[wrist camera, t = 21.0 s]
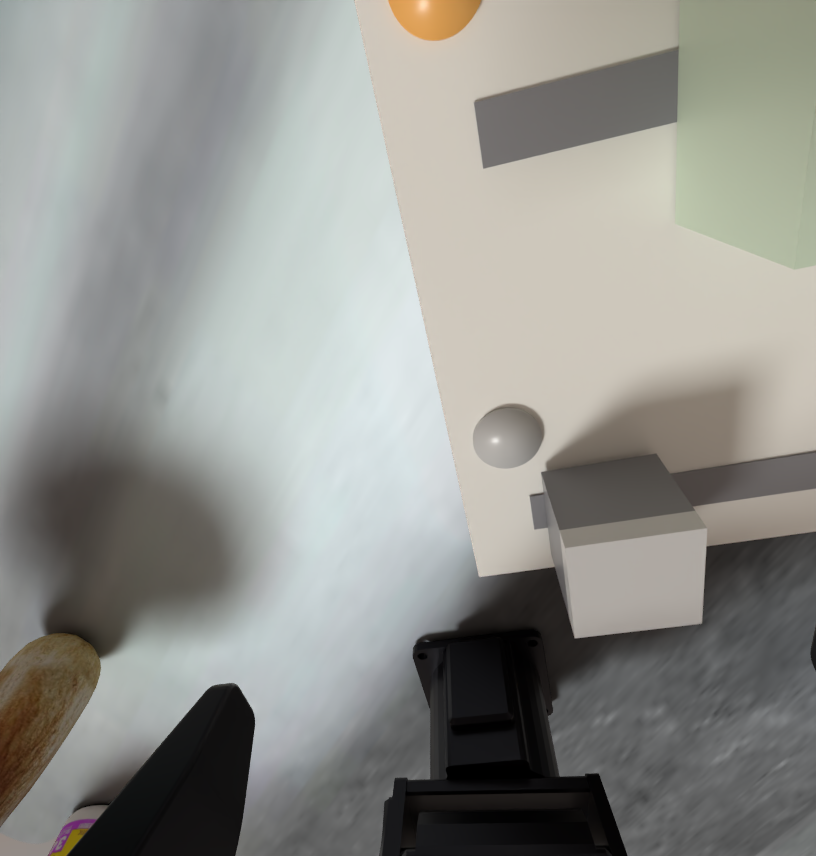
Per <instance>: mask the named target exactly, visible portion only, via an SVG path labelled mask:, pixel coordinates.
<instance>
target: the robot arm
mask: <svg viewBox="0 0 816 856" xmlns="http://www.w3.org/2000/svg"><path fill="white" fill-rule="evenodd" d="M413 659H414V662H415V665H416V668H417V671H418V674H419V677H420V680H421V684H422V687H423V690H424V693H425V696H426V699H427V702H428V705H429V708H430V780H408V779H407V778H395V781H394V789H393V797H389V799H388V800H386V801H385V803H384V818H383V831H382V841H381V848H380V853H379V856H627V853H626V850H625V847H624V844H623V842H622V839H621V836H620V833H619V830H618V827H617V824H616V821H615V819H614V816H613V813H612V810H611V807H610V804H609V801H608V799H607V796H606V793H605V790H604V787H603V784H602V781H601V779H600V776H599V774H598V773H595V774H585V776H572V777H560V776H559V771H558V766H557V761H556V756H555V751H554V746H553V741H552V736H551V731H550V726H549V721H548V716H549V715H551V714H552V713H553V707H552V700H551V694H550V687H549V681H548V674H547V667H546V661H545V654H544V648H543V641H542V637H541V634H540V633H539V632H538V631H536V630H525V631H517V632H508V633H500V634H492V635H483V636H475V637H467V638H458V639H450V640H442V641H434V642H425V643H419V644H416V645H415V646H414V647H413ZM811 660H812V663H813V666H814V668H815V670H816V626H815V631H814V636H813V641H812V646H811ZM254 729H255V717H254V713H253V710H252V708H251V707H250V705H249V703H248V701H247V700H246V698H245V696H244V695H243V693H242V691H241V690H240V688H239V687H238V685H236V684H234V683H228V684H219V685H214V686H212V687H210V688H209V689H208V690H207V691H206V692H205V693H204V694H203V695H202V697H201V698H200V699H199V700H198V701H197V702H196V704H195V705H194V706H193V707H192V708H191V709H190V711H189V712H188V713H187V714H186V715H185V716H184V718H183V719H182V720H181V721H180V722H179V724H178V725H177V726H176V727H175V728H174V729H173V731H172V732H171V733H170V734H169V735H168V736H167V738H166V739H165V740H164V741H163V742H162V744H161V745H160V746H159V747H158V748H157V749H156V751H155V752H154V753H153V754H152V755H151V756H150V758H149V759H148V760H147V761H146V762H145V764H144V765H143V766H142V767H141V768H140V769H139V771H138V772H137V773H136V774H135V775H134V776H133V778H132V779H131V780H130V781H129V782H128V783H127V785H126V786H125V787H124V788H123V789H122V791H121V792H120V793H119V794H118V795H117V796H116V798H115V799H114V800H113V801H112V802H111V803H110V805H109V806H108V807H107V808H106V809H105V811H104V812H103V813H102V814H101V815H100V816H99V818H98V819H97V820H96V821H95V822H94V823H93V825H92V826H91V827H90V828H89V829H88V831H87V832H86V833H85V834H84V835H83V836H82V838H81V839H80V840H79V841H78V842H77V843H76V845H75V846H74V847H73V848H72V849H71V850H70V852H69V853H68V854H67V855H66V856H235V854H236V850H237V845H238V841H239V836H240V831H241V825H242V819H243V813H244V805H245V798H246V790H247V782H248V775H249V767H250V759H251V752H252V744H253V737H254Z"/></svg>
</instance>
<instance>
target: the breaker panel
mask: <svg viewBox="0 0 816 856" xmlns="http://www.w3.org/2000/svg"><path fill="white" fill-rule="evenodd" d="M354 1H355V6H356V11H357V15H358V20H359V25H360V29H361V34H362V38H363V43H364V48H365V52H366V57H367V61H368V66H369V71H370V75H371V80H372V85H373V89H374V94H375V98H376V103H377V108H378V112H379V117H380V121H381V126H382V131H383V135H384V140H385V145H386V149H387V154H388V158H389V163H390V168H391V172H392V177H393V181H394V186H395V191H396V195H397V200H398V205H399V209H400V214H401V218H402V223H403V228H404V232H405V237H406V241H407V246H408V251H409V255H410V260H411V265H412V269H413V274H414V278H415V283H416V288H417V292H418V297H419V301H420V306H421V311H422V315H423V320H424V325H425V329H426V334H427V338H428V343H429V348H430V352H431V357H432V361H433V366H434V371H435V375H436V380H437V385H438V389H439V394H440V398H441V403H442V408H443V412H444V417H445V421H446V426H447V431H448V435H449V440H450V445H451V449H452V454H453V458H454V463H455V468H456V472H457V477H458V481H459V486H460V491H461V495H462V500H463V505H464V509H465V514H466V518H467V523H468V528H469V532H470V537H471V541H472V546H473V551H474V555H475V560H476V565H477V569H478V574H479V577H484V576H492V575H499V574H506V573H514V572H521V571H529V570H536V569H543V568H551V567H555V566H554V562H553V559H552V555H551V549H550V541H549V533H548V525H547V517H546V509H545V501H544V493H543V485H542V477H541V472H544V471H550V470H556V469H562V468H569V467H575V466H581V465H587V464H593V463H600V462H606V461H612V460H618V459H625V458H631V457H637V456H643V455H650V454H657V455H658V457H659V458H660V460H661V461H662V463H663V464H664V465H665V467H666V468H667V470H668V471H669V473H670V474H671V476H672V477H673V479H674V480H675V482H676V483H677V484H678V486H679V487H680V489H681V490H682V492H683V493H684V495H685V496H686V498H687V499H688V501H689V502H690V503H691V505H692V506H693V508H694V509H695V511H696V512H697V514H698V515H699V517H700V518H701V520H702V521H703V522H704V524H705V525H706V527H707V544H706V546H713V545H720V544H728V543H735V542H742V541H750V540H757V539H764V538H772V537H779V536H787V535H794V534H801V533H809V532H816V265H815V266H810V267H805V268H800V269H795V270H794V269H791V268H789V267H786V266H783V265H781V264H778V263H776V262H773V261H770V260H768V259H765V258H763V257H760V256H757V255H755V254H752V253H750V252H747V251H744V250H742V249H739V248H737V247H734V246H731V245H729V244H726V243H723V242H721V241H718V240H716V239H713V238H710V237H708V236H705V235H703V234H700V233H697V232H695V231H692V230H690V229H687V228H684V227H682V226H679V225H677V224H675V205H676V156H677V106H678V57H679V7H680V0H354Z"/></svg>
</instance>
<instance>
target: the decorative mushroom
mask: <svg viewBox="0 0 816 856" xmlns="http://www.w3.org/2000/svg"><path fill="white" fill-rule="evenodd" d="M100 670H101V665H100V659H99V657H98V655H97V653H96V651H95V649H94V647H93V646H92V645H91V644H90V643H88V642H86V641H85V640H83V639H82V638H80V637H79V636H77V635H72V634H66V633H54V634H50V635H47V636H43V637H40V638H38V639H36V640H34V641H32V642H30V643H28V644H27V645H26V646H25V647H24V648H23V649H22V650H20V651H19V652H18V653H17V654H16V655H15V656H14V657H13V658H12V659H11V660H10V661H9V662H8V663H7V665H6V666H5V667H4V668H3V670H2V671H1V672H0V827H1V825H2V824H3V823H4V822H5V820H6V819H7V818H8V817H9V815H10V814H11V813H12V812H13V810H14V809H15V808H16V807H17V805H18V804H19V803H20V802H21V800H22V799H23V798H24V797H25V795H26V794H27V793H28V792H29V791H30V789H31V788H32V786H33V785H34V784H35V782H36V781H37V779H38V778H39V777H40V775H41V774H42V772H43V771H44V770H45V768H46V767H47V765H48V764H49V762H50V761H51V760H52V758H53V757H54V755H55V754H56V752H57V751H58V749H59V748H60V746H61V745H62V743H63V742H64V740H65V739H66V737H67V736H68V734H69V733H70V731H71V729H72V728H73V726H74V725H75V723H76V721H77V720H78V718H79V717H80V715H81V713H82V712H83V710H84V709H85V707H86V705H87V704H88V702H89V700H90V698H91V696H92V694H93V692H94V690H95V688H96V686H97V683H98V679H99V676H100Z"/></svg>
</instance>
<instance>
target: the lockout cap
mask: <svg viewBox="0 0 816 856" xmlns="http://www.w3.org/2000/svg"><path fill="white" fill-rule="evenodd" d="M675 224H677V225H679V226H682V227H684V228H687V229H690V230H692V231H695V232H697V233H700V234H703V235H705V236H708V237H710V238H713V239H716V240H718V241H721V242H723V243H726V244H729V245H731V246H734V247H737V248H739V249H742V250H744V251H747V252H750V253H752V254H755V255H757V256H760V257H763V258H765V259H768V260H770V261H773V262H776V263H778V264H781V265H783V266H786V267H789V268H791V269H794V270H795V269H800V268H805V267H810V266H815V265H816V0H680V7H679V57H678V106H677V156H676V205H675Z"/></svg>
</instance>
